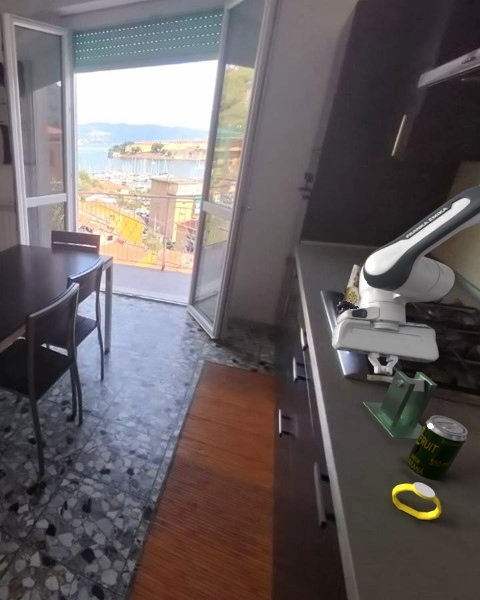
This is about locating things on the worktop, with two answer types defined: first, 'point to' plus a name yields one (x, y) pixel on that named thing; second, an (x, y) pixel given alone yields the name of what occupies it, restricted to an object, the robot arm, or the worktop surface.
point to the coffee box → (354, 286)
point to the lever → (418, 382)
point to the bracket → (403, 406)
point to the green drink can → (436, 447)
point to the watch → (423, 492)
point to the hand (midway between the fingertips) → (383, 374)
